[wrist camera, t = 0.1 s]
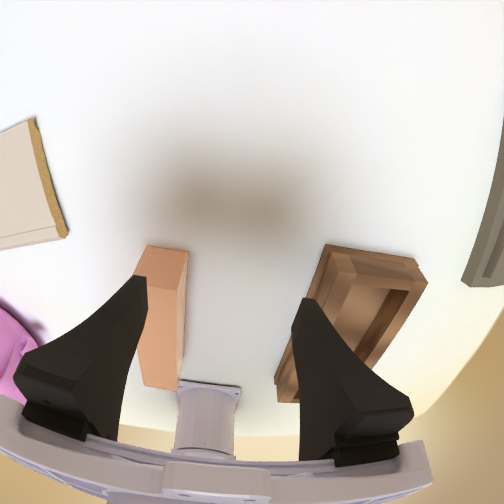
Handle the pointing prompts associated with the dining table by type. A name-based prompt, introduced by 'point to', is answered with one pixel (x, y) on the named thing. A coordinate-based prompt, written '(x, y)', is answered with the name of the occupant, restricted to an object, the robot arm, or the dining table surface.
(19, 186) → the baseboard
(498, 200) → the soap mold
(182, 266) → the clay block
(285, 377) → the tray
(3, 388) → the teapot
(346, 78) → the dining table surface
